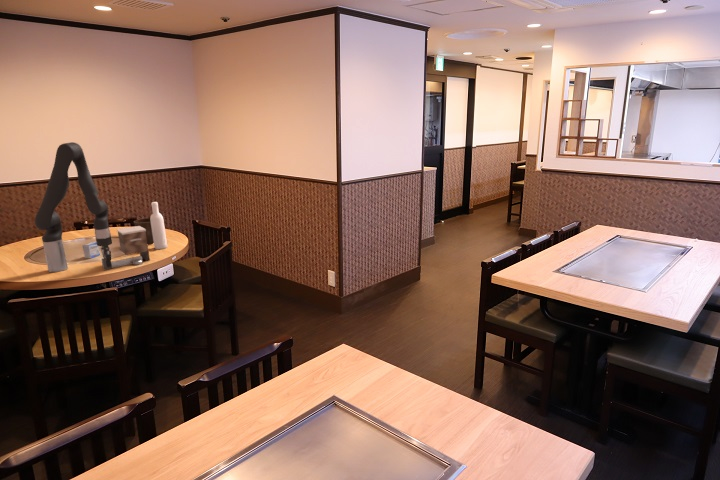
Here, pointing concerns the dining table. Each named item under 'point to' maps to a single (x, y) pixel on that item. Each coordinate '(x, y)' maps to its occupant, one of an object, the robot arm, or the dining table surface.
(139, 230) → the walnut cabinet
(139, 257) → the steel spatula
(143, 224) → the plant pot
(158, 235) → the bottle
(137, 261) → the steel token
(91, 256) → the medicine box
